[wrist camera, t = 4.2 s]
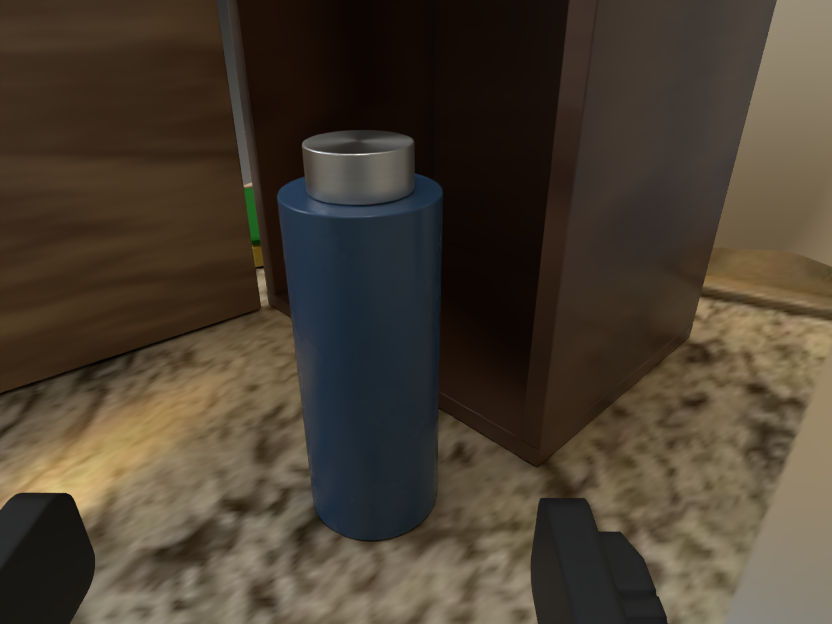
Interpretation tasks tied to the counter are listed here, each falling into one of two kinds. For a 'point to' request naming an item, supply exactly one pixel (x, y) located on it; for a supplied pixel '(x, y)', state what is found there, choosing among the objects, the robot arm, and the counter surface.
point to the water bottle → (366, 327)
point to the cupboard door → (115, 182)
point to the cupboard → (524, 173)
